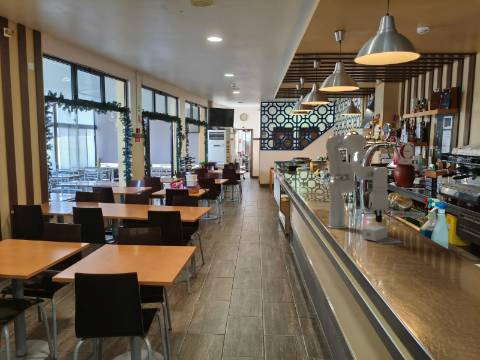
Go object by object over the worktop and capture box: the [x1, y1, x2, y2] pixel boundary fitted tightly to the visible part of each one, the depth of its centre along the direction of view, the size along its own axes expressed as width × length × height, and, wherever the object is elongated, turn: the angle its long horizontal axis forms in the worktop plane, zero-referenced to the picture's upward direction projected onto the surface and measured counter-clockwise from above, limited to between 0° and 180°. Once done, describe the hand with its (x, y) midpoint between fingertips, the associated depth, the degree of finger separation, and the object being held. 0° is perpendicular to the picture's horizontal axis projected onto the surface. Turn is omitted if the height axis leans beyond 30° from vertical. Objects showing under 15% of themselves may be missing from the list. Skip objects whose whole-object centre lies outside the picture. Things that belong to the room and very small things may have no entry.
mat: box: [375, 235, 404, 245], centre depth 210 cm, size 16×13×1 cm
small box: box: [362, 224, 388, 242], centre depth 212 cm, size 8×6×13 cm
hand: (378, 222), depth 208 cm, fingers closed
